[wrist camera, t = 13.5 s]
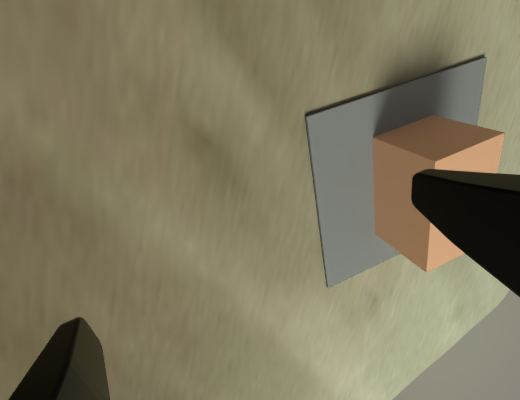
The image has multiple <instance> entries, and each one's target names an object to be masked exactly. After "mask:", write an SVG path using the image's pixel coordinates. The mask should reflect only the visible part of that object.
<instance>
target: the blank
mask: <svg viewBox="0 0 520 400" xmlns="http://www.w3.org/2000/svg"><path fill="white" fill-rule="evenodd" d="M504 134H505V133H504V132H500V131H495V130H491V129H487V128H483V127H479V126H475V125H471V124H467V123H463V122H459V121H455V120H451V119H447V118H443V117H438V116H434V115H432V116H429V117H426V118H424V119H421V120H418V121H416V122H413V123H410V124H408V125H405V126H402V127H400V128H397V129H394V130H392V131H389V132H386V133H384V134H381V135H378V136H375V137H373V168H374V208H375V234H376V235H377V236H378V237H380V238H381V239H382V240H384V241H385V242H386V243H388V244H389V245H390V246H392V247H393V248H394V249H396V250H397V251H398V252H400V253H401V254H402V255H404V256H405V257H406V258H408V259H409V260H410V261H412V262H413V263H414V264H416V265H417V266H418V267H420V268H421V269H422V270H424V271H425V272H428V271H430V270H432V269H434V268H436V267H438V266H440V265H442V264H444V263H446V262H448V261H450V260H452V259H454V258H456V257H458V256H459V255H461V254H463V253H464V252H463V251H461V250H460V249H459V248H458V247H456V246H455V245H454V244H453V243H452V242H451V241H450V240H448V239H447V238H446V237H445V236H444V235H443V234H442V233H441V232H440V231H439V230H438V229H437V228H436V227H435V226H434V225H433V224H432V223H431V222H430V221H429V220H428V219H427V218H426V217H424V216H423V215H422V214H421V213H420V212H419V211H418V210H417V209H416V208H415V207H414V205H413V204H412V201H411V188H412V177H413V175H414V174H415V173H417V172H420V171H422V170H425V169H440V170H454V171H469V172H484V173H497V171H498V166H499V160H500V155H501V150H502V144H503V139H504Z"/></svg>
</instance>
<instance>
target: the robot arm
mask: <svg viewBox="0 0 520 400" xmlns="http://www.w3.org/2000/svg"><path fill="white" fill-rule="evenodd" d="M411 201H412V204H413V205H414V207H415V208H416V209H417V210H418V211H419V212H420V213H421V214H422V215H423V216H424V217H426V218H427V219H428V220H429V221H430V222H431V223H432V224H433V225H434V226H435V227H436V228H437V229H438V230H439V231H440V232H441V233H442V234H443V235H444V236H445V237H446V238H447V239H448V240H450V241H451V242H452V243H453V244H454V245H455V246H456V247H458V248H459V249H460V250H461V251H463V252H464V253H465V254H466V255H468V256H469V257H470V258H471V259H473V260H474V261H475V262H476V263H478V264H479V265H480V266H481V267H483V268H484V269H485V270H486V271H488V272H489V273H490V274H491V275H493V276H494V277H495V278H496V279H498V280H499V281H500V282H501V283H503V284H504V285H505V286H506V287H508V288H509V289H510V290H511V291H513V292H514V293H515V294H516V295H518V296H519V297H520V175H513V174H498V173H484V172H469V171H454V170H440V169H425V170H422V171H420V172H417V173H415V174H414V175H413V177H412V188H411ZM9 400H110V395H109V389H108V382H107V376H106V369H105V363H104V356H103V350H102V346H101V343H100V341H99V339H98V338H97V336H96V335H95V333H94V332H93V331H92V329H91V328H90V326H89V325H88V323H87V322H86V321H85V320H84V319H83V318H81V317H77V318H75V319H73V320H70V321H68V322H66V323H63V324H62V325H60V326H59V327H58V329H57V330H56V332H55V333H54V335H53V336H52V337H51V339H50V340H49V342H48V343H47V345H46V346H45V348H44V349H43V350H42V352H41V353H40V355H39V356H38V358H37V359H36V361H35V362H34V363H33V365H32V366H31V368H30V369H29V371H28V372H27V374H26V375H25V376H24V378H23V379H22V381H21V382H20V384H19V385H18V387H17V388H16V389H15V391H14V392H13V394H12V395H11V397H10V398H9Z"/></svg>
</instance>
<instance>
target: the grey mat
mask: <svg viewBox="0 0 520 400" xmlns="http://www.w3.org/2000/svg"><path fill="white" fill-rule="evenodd" d="M486 61H487V57H483V58H480V59H477V60H474V61H471V62H468V63H465V64H462V65H459V66H456V67H453V68H449V69H446V70H443V71H440V72H437V73H434V74H431V75H428V76H425V77H422V78H419V79H416V80H413V81H410V82H407V83H404V84H401V85H398V86H395V87H392V88H389V89H386V90H383V91H380V92H377V93H374V94H371V95H368V96H365V97H362V98H359V99H356V100H353V101H350V102H347V103H344V104H341V105H338V106H335V107H332V108H329V109H326V110H323V111H320V112H317V113H314V114H311V115H308V116H305V119H306V127H307V135H308V143H309V151H310V159H311V166H312V174H313V182H314V190H315V198H316V206H317V213H318V221H319V229H320V237H321V245H322V253H323V261H324V268H325V276H326V284H327V287H328V288H330V287H332V286H334V285H336V284H338V283H340V282H342V281H344V280H346V279H349V278H351V277H353V276H355V275H357V274H359V273H361V272H363V271H365V270H367V269H369V268H371V267H373V266H376V265H378V264H380V263H382V262H384V261H386V260H388V259H390V258H392V257H394V256H396V255H398V254H400V252H398V251H397V250H396V249H394V248H393V247H392V246H390V245H389V244H388V243H386V242H385V241H384V240H382V239H381V238H380V237H378V236H377V235H376V234H375V208H374V168H373V137H375V136H378V135H381V134H384V133H386V132H389V131H392V130H394V129H397V128H400V127H402V126H405V125H408V124H410V123H413V122H416V121H418V120H421V119H424V118H426V117H429V116H432V115H434V116H438V117H443V118H447V119H451V120H455V121H459V122H463V123H467V124H471V125H475V126H477V123H478V116H479V109H480V102H481V95H482V88H483V81H484V74H485V68H486Z"/></svg>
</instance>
